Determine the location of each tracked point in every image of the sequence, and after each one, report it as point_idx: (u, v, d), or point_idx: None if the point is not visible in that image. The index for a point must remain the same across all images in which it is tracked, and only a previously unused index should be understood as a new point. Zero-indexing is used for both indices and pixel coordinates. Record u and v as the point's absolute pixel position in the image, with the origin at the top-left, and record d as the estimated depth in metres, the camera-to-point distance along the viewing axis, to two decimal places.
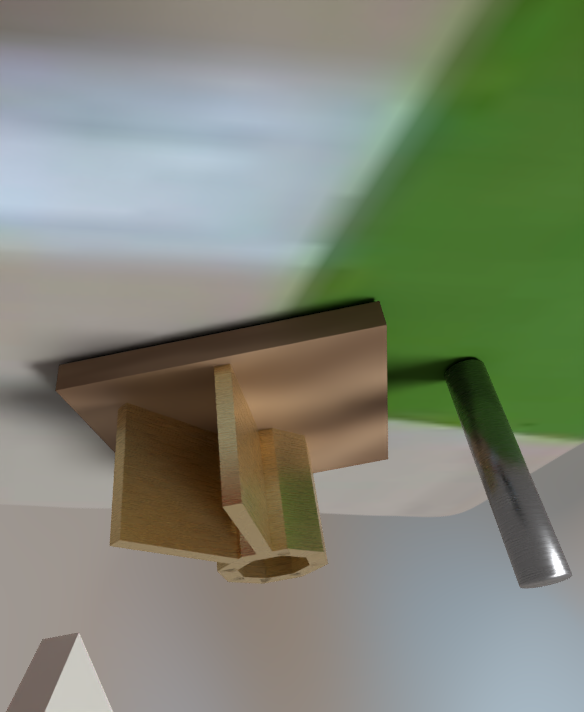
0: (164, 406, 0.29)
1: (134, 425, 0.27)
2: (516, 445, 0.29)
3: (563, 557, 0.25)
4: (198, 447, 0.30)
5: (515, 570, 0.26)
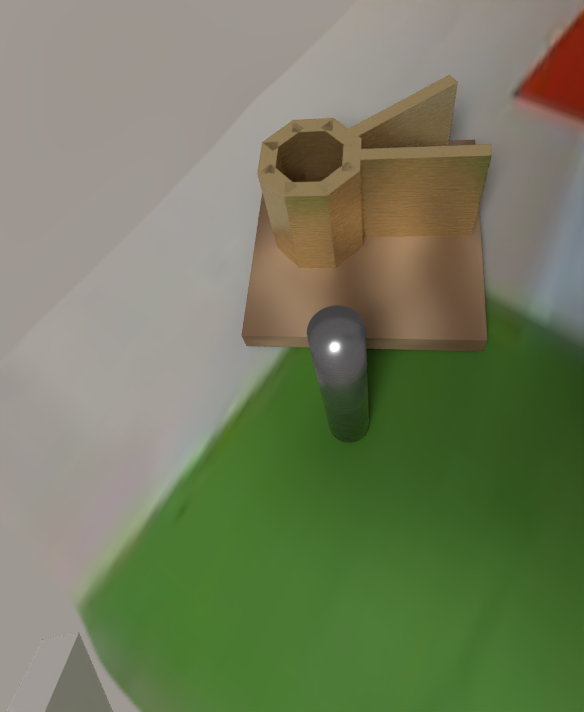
0: None
1: None
2: (358, 407, 0.28)
3: (352, 360, 0.22)
4: None
5: None
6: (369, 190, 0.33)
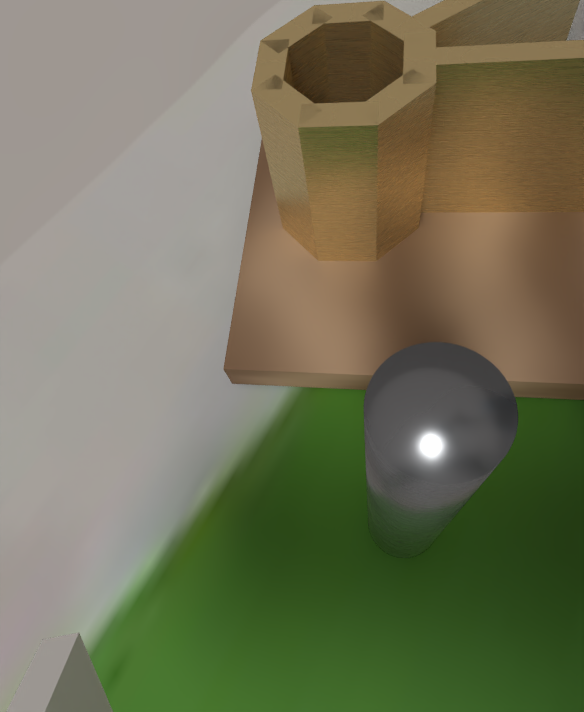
0: None
1: None
2: (441, 529, 0.14)
3: (479, 481, 0.09)
4: None
5: None
6: (442, 128, 0.19)
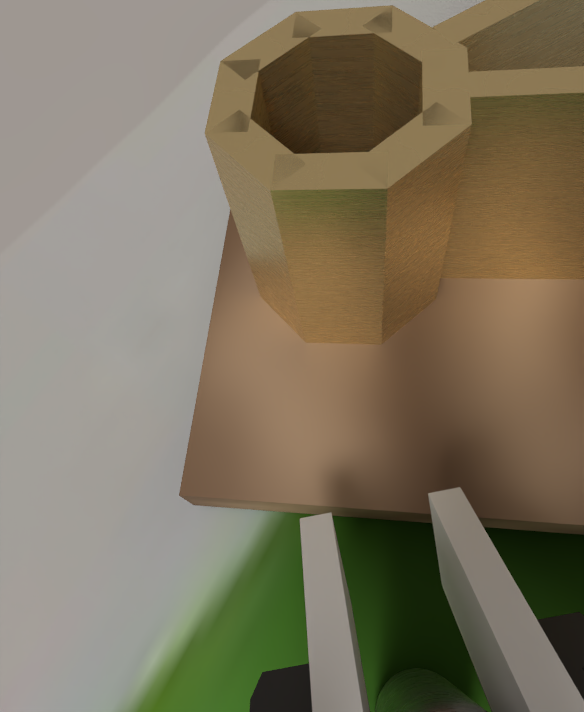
0: None
1: None
2: None
3: None
4: None
5: None
6: (473, 179, 0.14)
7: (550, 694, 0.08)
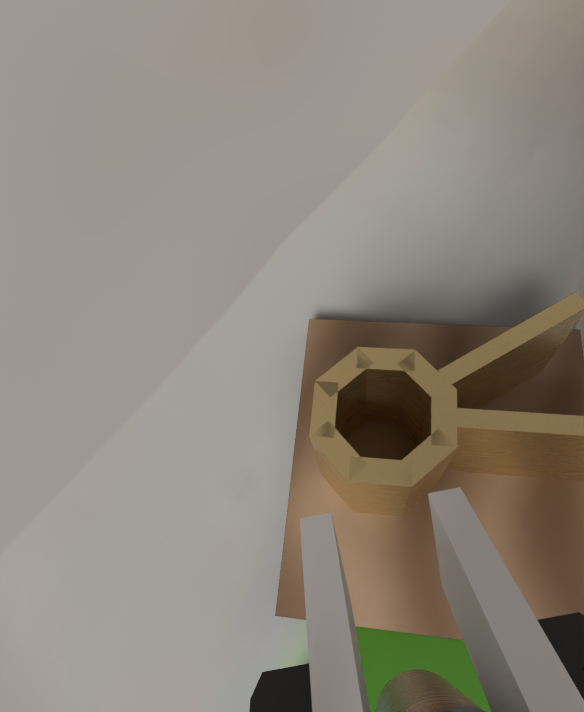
0: (524, 399, 0.29)
1: (540, 367, 0.28)
2: None
3: None
4: (475, 404, 0.28)
5: None
6: (460, 445, 0.24)
7: (550, 694, 0.08)
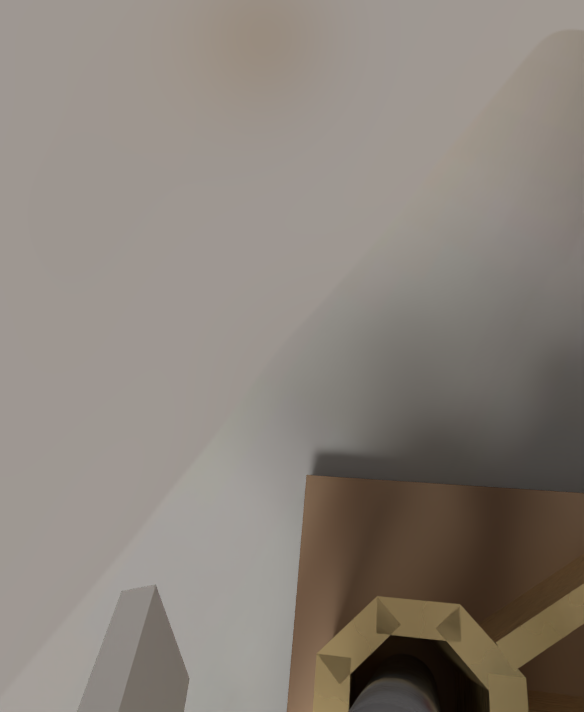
0: None
1: None
2: None
3: None
4: None
5: (393, 699, 0.12)
6: None
7: None
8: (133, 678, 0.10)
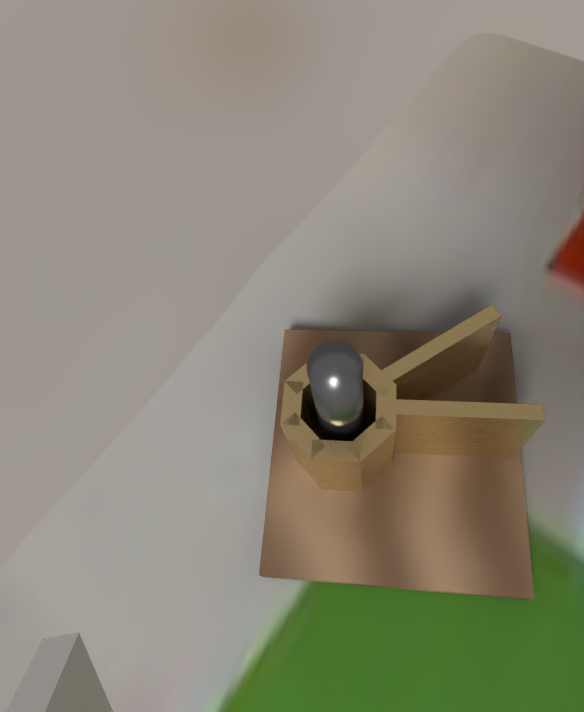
0: (463, 392, 0.35)
1: (475, 365, 0.34)
2: (354, 433, 0.29)
3: (350, 394, 0.24)
4: (421, 398, 0.34)
5: None
6: (403, 430, 0.29)
7: None
8: None
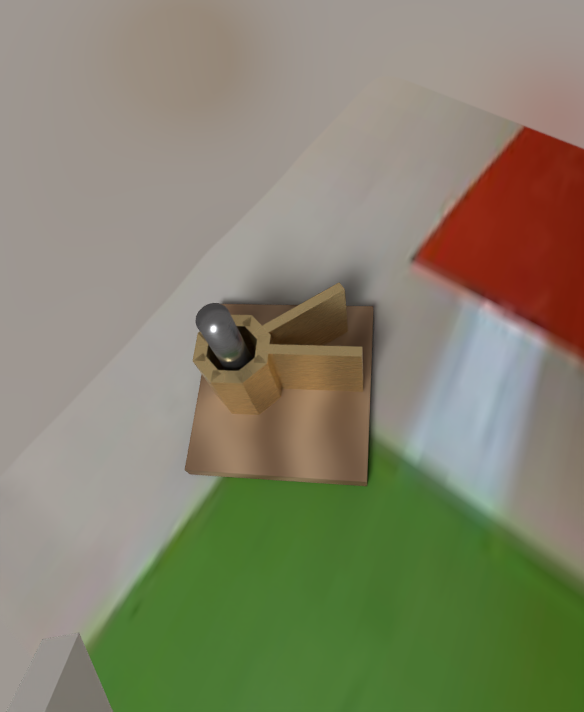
0: None
1: (342, 328, 0.48)
2: None
3: (223, 336, 0.38)
4: None
5: None
6: (279, 367, 0.43)
7: None
8: None
